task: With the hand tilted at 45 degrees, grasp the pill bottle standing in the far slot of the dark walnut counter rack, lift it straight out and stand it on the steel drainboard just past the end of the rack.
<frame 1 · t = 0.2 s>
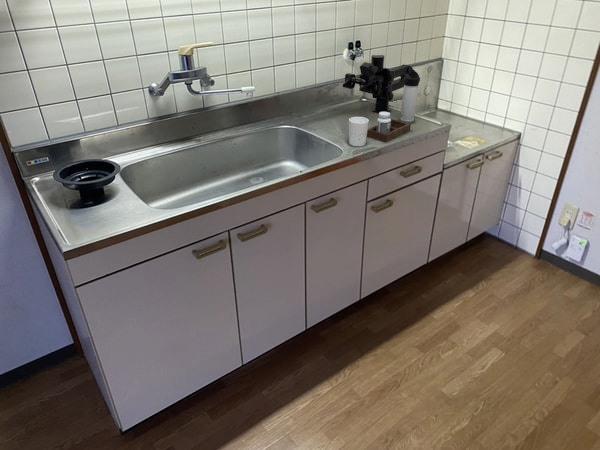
hand: (351, 87, 201), 17 cm above the counter, tool horizontal, fingers open, 9 cm apart
white cup: (357, 143, 190), on the counter
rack: (388, 133, 200), on the counter
travel mug: (406, 121, 213), on the counter
pill bottle: (382, 136, 197), resting in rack
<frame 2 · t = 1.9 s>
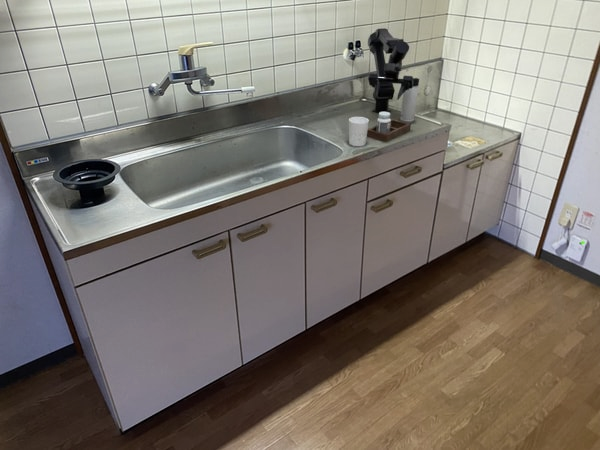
hand: (386, 98, 196), 14 cm above the counter, tool tilted 45°, fingers open, 9 cm apart
nothing on the counter moved.
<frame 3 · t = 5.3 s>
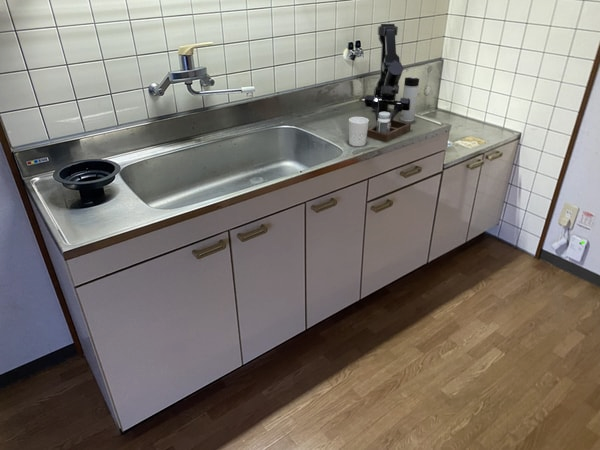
hand: (383, 121, 192), 7 cm above the counter, tool tilted 45°, fingers closed on pill bottle, 5 cm apart
pill bottle: (382, 136, 197), resting in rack, touching gripper
everything else where it was.
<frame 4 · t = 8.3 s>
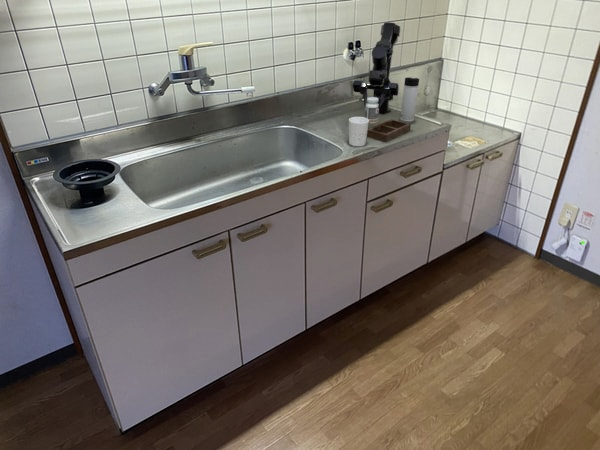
hand: (371, 106, 191), 13 cm above the counter, tool tilted 45°, fingers closed on pill bottle, 5 cm apart
pill bottle: (371, 122, 196), point 5 cm above the counter, touching gripper
everything else where it was.
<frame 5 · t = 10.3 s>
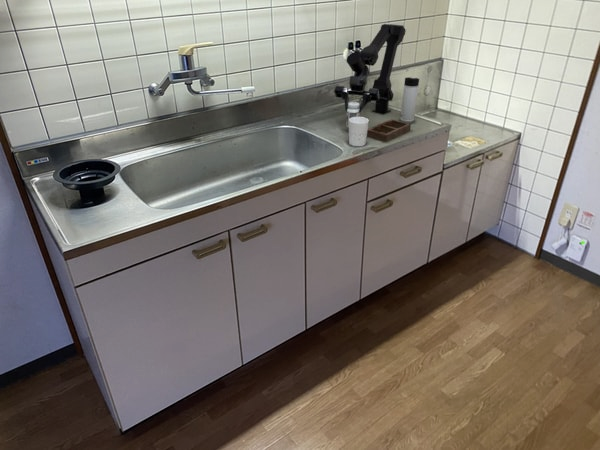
hand: (352, 111, 195), 10 cm above the counter, tool tilted 45°, fingers closed on pill bottle, 5 cm apart
pill bottle: (352, 126, 200), point 2 cm above the counter, touching gripper
everything else where it was.
when the fingers open (7 cm above the counter, at t = 11.6 s): pill bottle stays where it is, on the counter.
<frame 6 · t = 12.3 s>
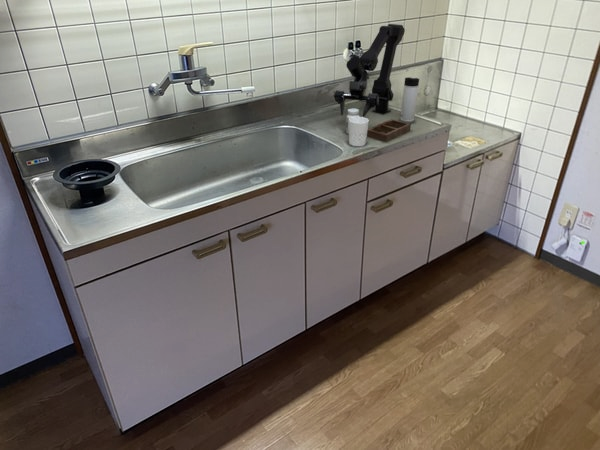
hand: (352, 116, 195), 8 cm above the counter, tool tilted 45°, fingers open, 9 cm apart
pill bottle: (352, 132, 201), on the counter
everything else where it was.
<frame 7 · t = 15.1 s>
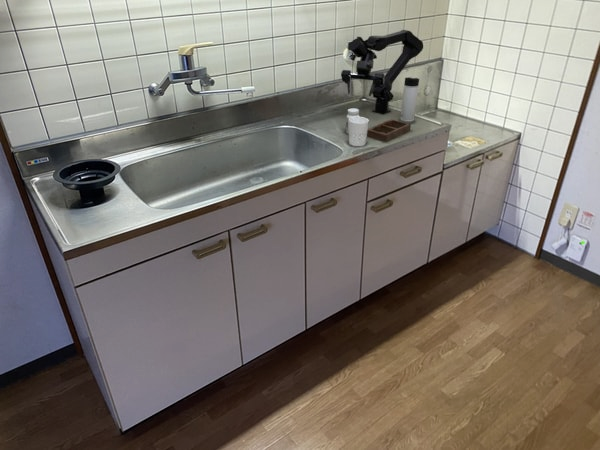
hand: (359, 94, 202), 14 cm above the counter, tool tilted 45°, fingers open, 9 cm apart
nothing on the counter moved.
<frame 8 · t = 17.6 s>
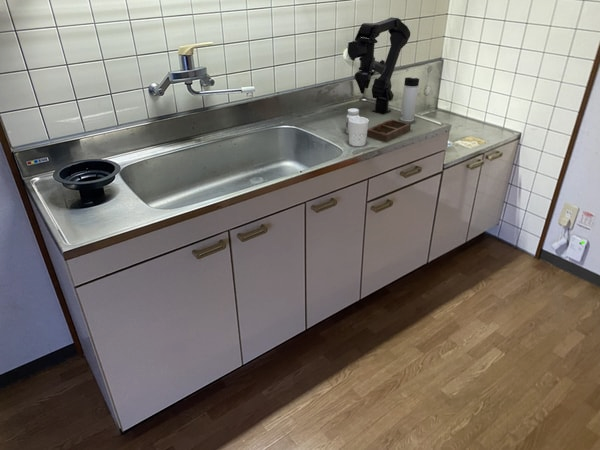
hand: (364, 90, 209), 13 cm above the counter, tool pointing down, fingers open, 9 cm apart
nothing on the counter moved.
at the end: pill bottle inside the target area (0.2 cm from its centre), on the counter; pill bottle tilted 0°; the gripper is holding nothing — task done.
